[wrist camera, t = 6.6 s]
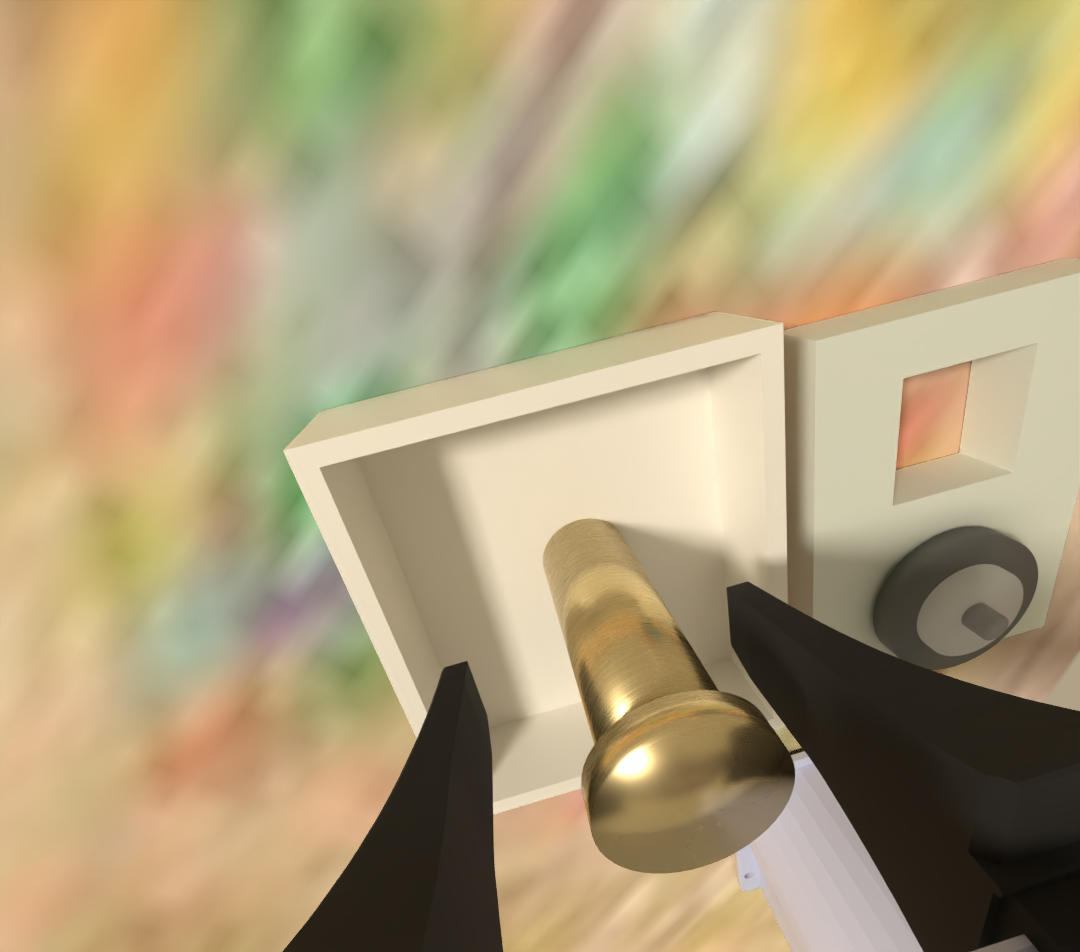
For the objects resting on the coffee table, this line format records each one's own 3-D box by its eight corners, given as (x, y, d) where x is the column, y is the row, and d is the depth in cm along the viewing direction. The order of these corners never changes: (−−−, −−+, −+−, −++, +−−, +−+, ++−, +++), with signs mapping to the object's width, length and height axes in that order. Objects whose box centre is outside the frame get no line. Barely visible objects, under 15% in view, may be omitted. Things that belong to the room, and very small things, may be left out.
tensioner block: (995, 596, 22) (1105, 664, 18) (782, 659, 22) (850, 741, 18) (1061, 258, 16) (1241, 256, 13) (774, 332, 16) (872, 352, 12)
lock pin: (647, 587, 18) (795, 838, 10) (541, 616, 18) (608, 896, 10) (632, 491, 17) (796, 700, 9) (516, 522, 16) (573, 764, 8)
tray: (739, 655, 21) (789, 725, 18) (457, 738, 20) (457, 825, 17) (715, 311, 15) (783, 323, 12) (321, 411, 15) (282, 450, 11)
